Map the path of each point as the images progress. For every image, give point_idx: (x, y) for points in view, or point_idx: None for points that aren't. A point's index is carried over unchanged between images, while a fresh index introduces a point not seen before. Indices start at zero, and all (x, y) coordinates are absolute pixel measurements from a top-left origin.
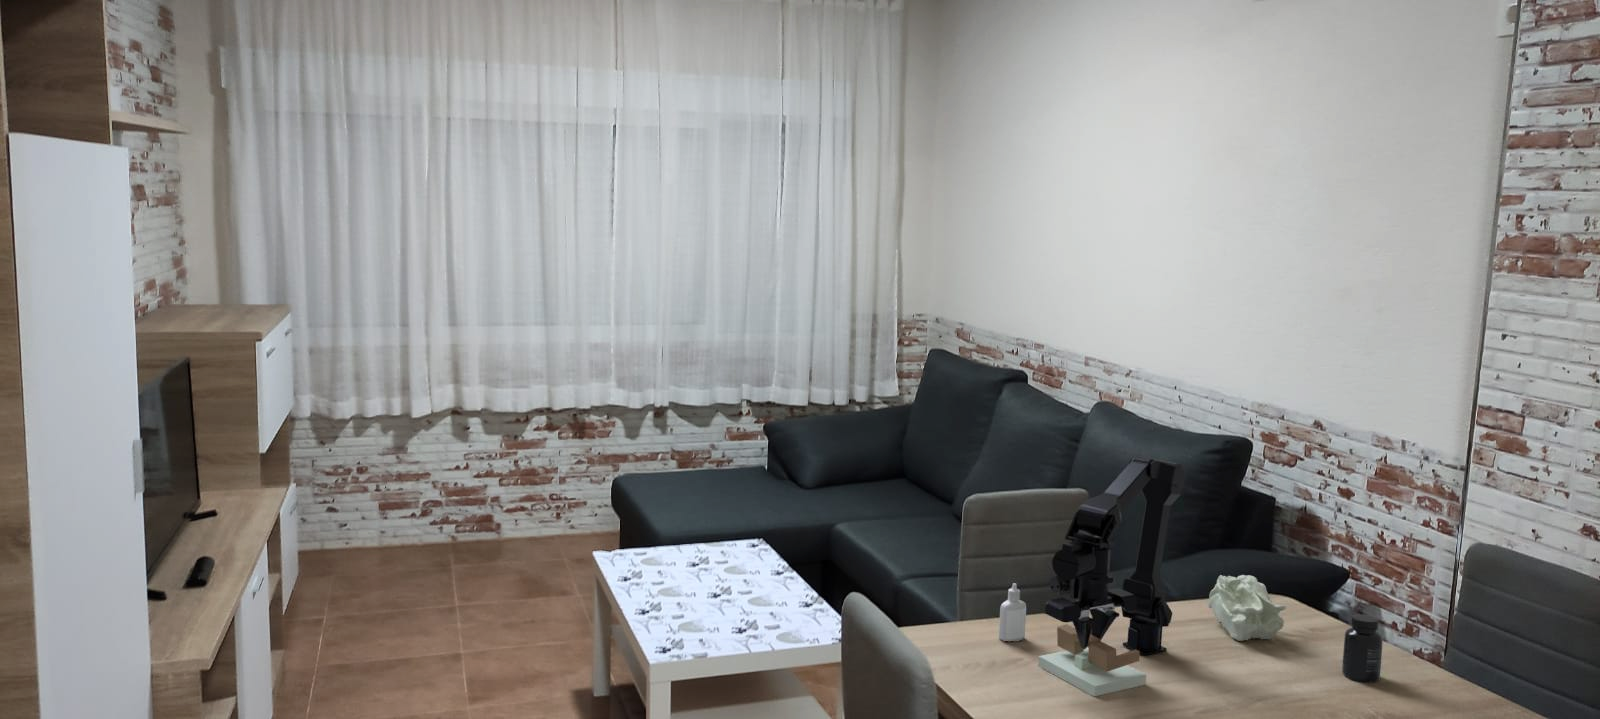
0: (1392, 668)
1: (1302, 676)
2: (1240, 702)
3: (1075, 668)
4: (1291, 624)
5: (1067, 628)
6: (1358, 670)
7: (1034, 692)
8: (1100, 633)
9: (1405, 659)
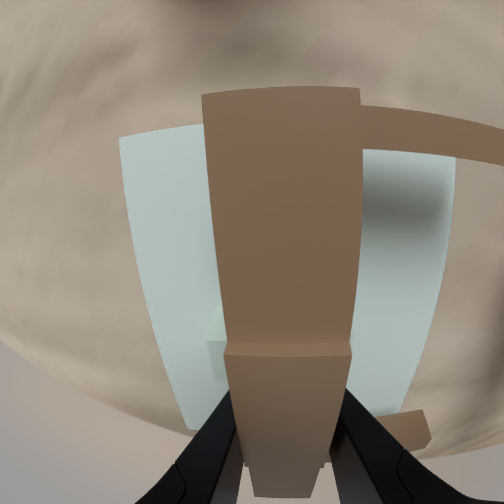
0: None
1: None
2: (437, 450)
3: (205, 326)
4: None
5: (282, 196)
6: None
7: (50, 323)
8: (339, 487)
9: None
